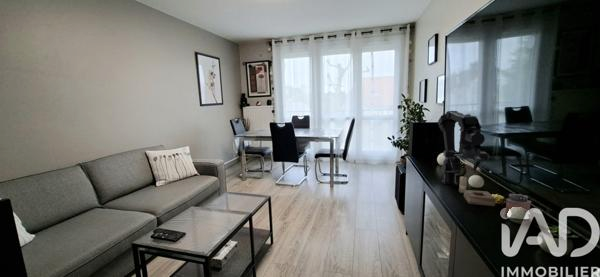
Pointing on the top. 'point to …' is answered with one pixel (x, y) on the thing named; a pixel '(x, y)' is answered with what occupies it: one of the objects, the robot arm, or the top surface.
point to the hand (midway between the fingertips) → (463, 170)
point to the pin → (462, 184)
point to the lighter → (517, 202)
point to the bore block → (479, 197)
